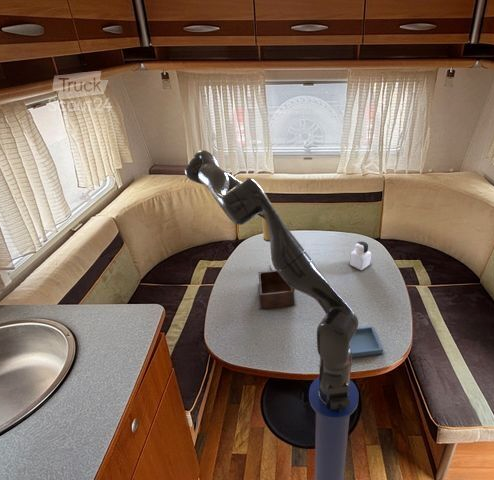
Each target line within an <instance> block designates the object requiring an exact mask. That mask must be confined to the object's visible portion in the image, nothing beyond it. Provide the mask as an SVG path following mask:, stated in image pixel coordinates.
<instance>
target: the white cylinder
mask: <svg viewBox="0 0 494 480" xmlns="http://www.w3.org/2000/svg"><path fill="white" fill-rule="evenodd" d="M268 257H269V263H270V268H271V271H274V270H276V269H275V268H274V266H273V263H272V259H271V253H269V255H268Z"/></svg>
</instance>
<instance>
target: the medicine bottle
mask: <svg viewBox="0 0 494 480" xmlns="http://www.w3.org/2000/svg"><path fill="white" fill-rule="evenodd" d="M371 259H372V252H371V251H369V244H368V243H367V242H366V241H363V240H362V241H357V242H355V245H354V250H353V251H351V252H350V259H349V265H350V266H352V267H354V268H356V269H358V270H359V271H363V270H365V268H367V267H368V266H370V265H371V261H372V260H371Z"/></svg>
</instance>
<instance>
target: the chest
mask: <svg viewBox="0 0 494 480" xmlns="http://www.w3.org/2000/svg"><path fill="white" fill-rule="evenodd" d="M258 287H259V299H260V300H259V302H260V310H264V309H265V310H266V309H273V308H282V307H283V308H285V307H293V306H295V291H293V290H292V287H290V286H289V285H288V284H287V283H286V282H285V281H284V280H283V278H282V277H281V276H280V274H279V273H278V272H277V270H264V271H263V270H262V271H258Z"/></svg>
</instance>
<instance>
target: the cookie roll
mask: <svg viewBox="0 0 494 480" xmlns="http://www.w3.org/2000/svg"><path fill="white" fill-rule="evenodd" d="M274 209H275V210H276V208H275V207H274ZM261 221H262V222H261V223H262V235H263V241H264V242H268V243H270V235H269V229H268V225H267V222H266V219H264V218H262V217H261Z"/></svg>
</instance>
